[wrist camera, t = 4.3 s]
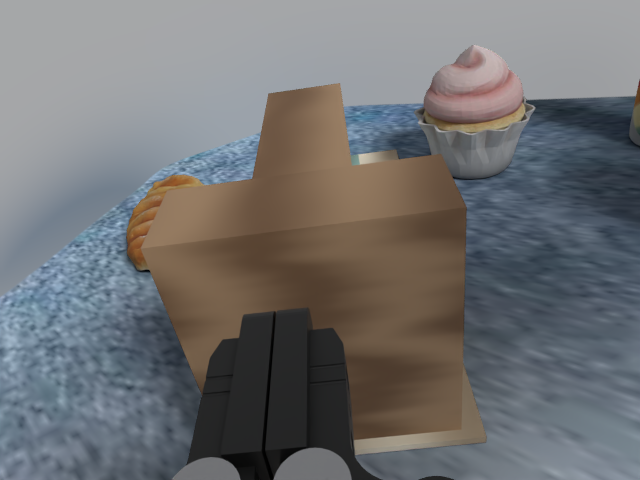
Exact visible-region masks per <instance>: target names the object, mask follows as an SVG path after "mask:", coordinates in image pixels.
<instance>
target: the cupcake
mask: <svg viewBox="0 0 640 480" xmlns="http://www.w3.org/2000/svg"><path fill="white" fill-rule="evenodd" d="M525 102H526V98H525V97H523V89H522V83H521V81H520V79H519V78H518V76H517V75H515V74H514V73H513V72H512V71H511V70H509V69H508V66H507V64H506V62H505V61H504V60H503V59H502V58H501V57H500V56H499V55H498V54H496V53H495V52H493V51H491V50H489V49H486V48H482V47H480V46H477V45H472V46H471V47H469V48H468V49H467V50H465V51H464V52H463V53H462V54H461V55H460V56H459V57H458V59H457V60H456V62H455V63H454V64H451V65H447V66H444V67H443V68H441V69H440V70H439V71H438V72H437V73H436V74H435V76H434V77H433V80H432V83H431V86H430V88H429V89H428V91H427V92H426V95H425V97H424V107H423V108H420V109H418V110H416V111H414V113H415V115H416V117H417V118H418V120H419V122H418V124H419V125H420V127H421V128H422V130H423V131H424V133H425V134H426V136H427V140H428V143H429V147H430V151H431V155H436V154H442V156H443V158H444V161H445V163H446V165H447V167H448V169H449V171H450V173H451V175H452V177H456V178H462V179H479V178H486V177H490V176H493V175H496V174H499V173H501V172H502V171H504V170H505V169H506V168H507V167H508V166H509V164H510V163H511V161H512V158H513V155H514V152H515V149H516V145H517V143H518V140H519V137H520V134H521V132H522V130H523V128H524V127H525V125H526V124H527V122H528V121H529V118H530V116H531V115H532V113H533V111H534V110H535V108H536V107H534V106H533V105H530V104H527V103H525Z"/></svg>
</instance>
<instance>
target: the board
mask: <svg viewBox="0 0 640 480" xmlns="http://www.w3.org/2000/svg"><path fill="white" fill-rule="evenodd" d="M398 159H399V157H398V154H397V151H396V150H389V151H381V152H374V153H366V154H359V155H352V156H351V163H352V166H354V165H361V164H369V163H376V162H383V161H391V160H398ZM486 438H487V437H486V434H485V430H484V427H483V424H482V421H481V418H480V414H479V411H478V408H477V405H476V402H475V399H474V395H473V392H472V389H471V386H470V383H469V380H468V376H467V373H466V370H465V367H464V364H463V383H462V426H461V430H451V431H441V432H431V433H421V434H411V435H400V436H390V437H380V438H370V439H360V440H354V446H355V455H359V454H370V453H380V452H391V451H401V450H411V449H422V448H432V447H442V446H453V445H463V444H474V443H484V442H486Z"/></svg>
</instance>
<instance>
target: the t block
mask: <svg viewBox="0 0 640 480" xmlns="http://www.w3.org/2000/svg"><path fill="white" fill-rule="evenodd" d="M466 210H467V207H466V205H465V203H464V201H463V199H462V196H461V194H460V192H459V190H458V188H457V186H456V184H455V182H454V180H453V177H452V175H451V173H450V171H449V169H448V167H447V165H446V163H445V161H444V158H443V156H442V154H436V155H428V156H421V157H413V158H406V159H398V160H391V161H383V162H376V163H369V164H361V165H354V166H352V163H351V156H350V149H349V143H348V136H347V129H346V122H345V115H344V108H343V101H342V94H341V88H340V83H338V84H331V85H325V86H318V87H311V88H304V89H298V90H290V91H283V92H276V93H270V94H268V99H267V105H266V110H265V115H264V121H263V126H262V131H261V136H260V141H259V146H258V151H257V157H256V162H255V167H254V172H253V177H252V179H249V180H242V181H234V182H227V183H220V184H212V185H205V186H197V187H190V188H182V189H175V190H167V192H166V194H165V196H164V198H163V201H162V203H161V205H160V207H159V209H158V211H157V214H156V216H155V218H154V220H153V222H152V225H151V227H150V229H149V231H148V233H147V236H146V238H145V240H144V242H143V244H142V246H141V251H142V253H143V256H144V258H145V260H146V263H147V265H148V268H149V270H150V272H151V275H152V277H153V279H154V282H155V284H156V287H157V289H158V291H159V294H160V296H161V299H162V301H163V303H164V306H165V308H166V310H167V313H168V315H169V318H170V320H171V322H172V325H173V327H174V330H175V332H176V334H177V337H178V339H179V341H180V344H181V346H182V349H183V351H184V353H185V356H186V358H187V361H188V363H189V365H190V368H191V370H192V372H193V375H194V377H195V380H196V382H197V384H198V387H199V389H200V392H201V394H202V392H203V388H204V383H205V381H206V374H207V369H208V364H209V360H210V357H211V355H212V354H213V352H214V351H215V350H216V348H217V347H218V345H219V344H220V342H221V341H222V340H223V339H232V338H239V334H240V328H241V322H242V317H243V315H244V314H252V313H261V312H270V311H276V312H277V311H278V310H287V309H296V308H306V307H309V310H310V314H311V320H312V325H313V330H315V329H325V328H333V329H334V330H335V332H336V333H337V335H338V336H339V338H340V339H341V341H342V342H343V344H344V351H345V358H346V365H347V372H348V379H349V386H350V396H351V410H352V421H353V434H354V440H360V439H370V438H380V437H390V436H400V435H411V434H421V433H431V432H441V431H451V430H461V426H462V383H463V340H464V297H465V254H466ZM202 396H203V394H202Z"/></svg>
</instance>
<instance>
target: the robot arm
mask: <svg viewBox="0 0 640 480" xmlns="http://www.w3.org/2000/svg"><path fill="white" fill-rule="evenodd" d="M202 394H203V397H202V398H201V402H200V407H199V411H198V416H197V421H196V425H195V430H194V435H193V439H192V444H191V449H190V453H189V458H188V461H187V464H186V466H185V467H184V468H182V469H181V470H180V471H179V472H178V473H177V474H176V475H175V476H174V477H173V479H172V480H381V479H379V478H377V477H375V476H373V475H371V474H370V473H368V472H367V471H366V470H365V469H363V468H362V467H361V465H360V464H359V463H358V462H357V460H356V458H355V446H354V434H353V421H352V410H351V396H350V386H349V379H348V372H347V365H346V358H345V351H344V344H343V342H342V341H341V339H340V338H339V336H338V335H337V333H336V332H335V330H334V329H333V328H325V329H315V330H313V325H312V320H311V314H310V310H309V307H306V308H296V309H287V310H278V311H277V312H276V311H270V312H261V313H252V314H244V315H243V317H242V322H241V328H240V334H239V338H232V339H223V340H222V341H221V342H220V344H219V345H218V347H217V348H216V350H215V351H214V352H213V354H212V355H211V357H210V360H209V364H208V369H207V374H206V381H205V383H204V388H203V392H202ZM419 480H454V479H451V478H447V477H442V476H431V477H425V478H422V479H419Z"/></svg>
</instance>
